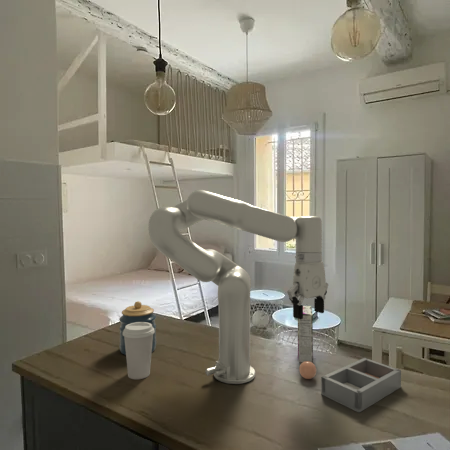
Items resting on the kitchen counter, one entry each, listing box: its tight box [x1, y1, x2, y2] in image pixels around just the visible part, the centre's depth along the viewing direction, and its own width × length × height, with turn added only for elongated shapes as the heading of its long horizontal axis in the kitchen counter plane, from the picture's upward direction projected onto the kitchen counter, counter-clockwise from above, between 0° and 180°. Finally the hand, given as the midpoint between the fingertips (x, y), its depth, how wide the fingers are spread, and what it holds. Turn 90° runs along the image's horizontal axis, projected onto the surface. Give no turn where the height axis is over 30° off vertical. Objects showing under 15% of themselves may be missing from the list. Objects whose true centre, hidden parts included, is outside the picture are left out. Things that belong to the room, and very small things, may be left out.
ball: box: [298, 361, 317, 380], centre depth 104 cm, size 5×5×5 cm
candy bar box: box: [297, 305, 314, 364], centre depth 120 cm, size 11×5×16 cm, turn 168°
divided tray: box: [320, 357, 402, 413], centre depth 97 cm, size 21×11×5 cm, turn 127°
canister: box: [118, 300, 157, 356], centre depth 126 cm, size 13×13×18 cm
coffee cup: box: [122, 322, 155, 380], centre depth 107 cm, size 10×10×15 cm
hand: (308, 315), depth 104 cm, fingers open, 9 cm apart
